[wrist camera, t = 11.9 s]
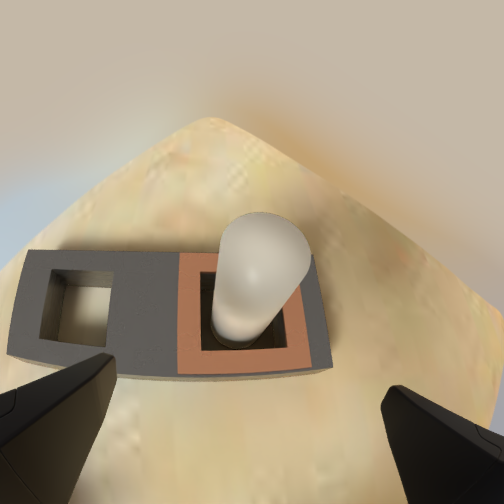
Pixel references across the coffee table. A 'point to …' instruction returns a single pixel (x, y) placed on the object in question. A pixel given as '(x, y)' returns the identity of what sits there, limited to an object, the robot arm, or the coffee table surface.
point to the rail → (159, 318)
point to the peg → (255, 275)
